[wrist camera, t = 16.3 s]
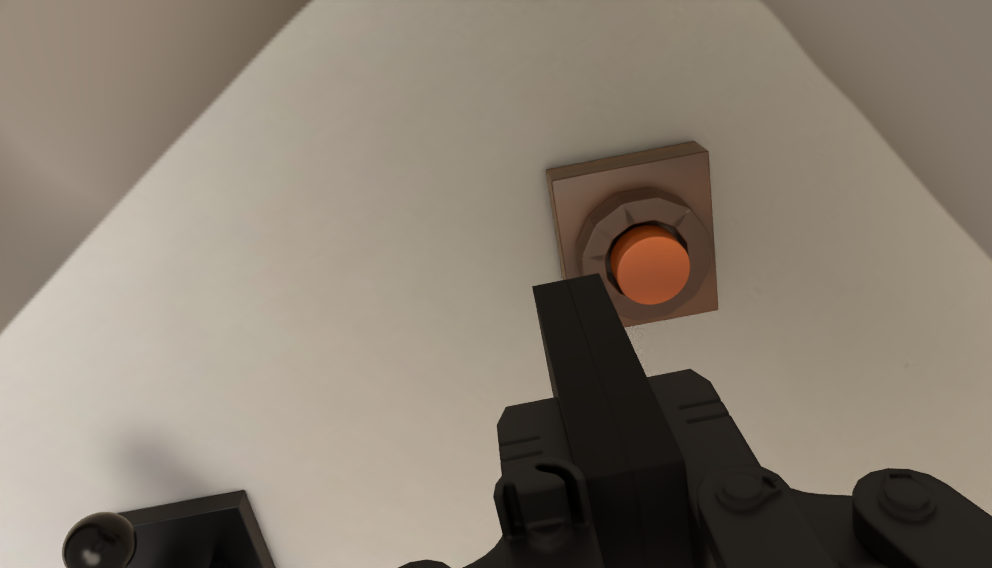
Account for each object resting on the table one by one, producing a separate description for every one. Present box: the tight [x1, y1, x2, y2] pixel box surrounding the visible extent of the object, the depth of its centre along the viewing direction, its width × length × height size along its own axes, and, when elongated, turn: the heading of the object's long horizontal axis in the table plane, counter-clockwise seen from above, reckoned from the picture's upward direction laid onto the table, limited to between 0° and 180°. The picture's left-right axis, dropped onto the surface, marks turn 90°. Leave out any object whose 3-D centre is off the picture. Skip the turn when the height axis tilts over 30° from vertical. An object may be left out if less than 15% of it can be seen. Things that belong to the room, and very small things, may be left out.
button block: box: [546, 142, 718, 327], centre depth 39 cm, size 9×8×4 cm
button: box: [610, 225, 690, 305], centre depth 37 cm, size 4×4×2 cm
